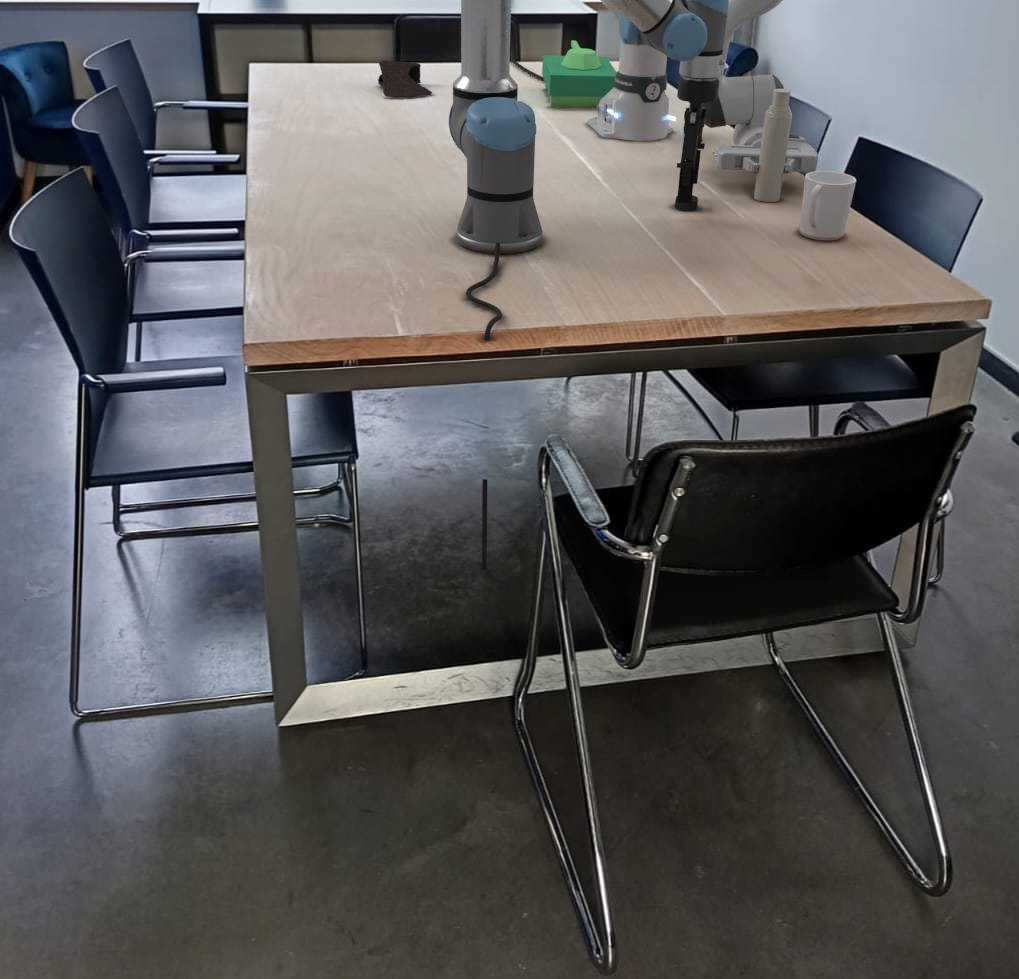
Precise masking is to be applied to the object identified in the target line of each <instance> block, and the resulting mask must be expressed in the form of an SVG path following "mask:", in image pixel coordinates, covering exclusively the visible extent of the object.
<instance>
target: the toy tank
mask: <svg viewBox="0 0 1019 979" xmlns="http://www.w3.org/2000/svg"><path fill="white" fill-rule="evenodd" d="M570 46H571V48H570V49H569V50H567V52H566V55H549V54H547V55H545V54H543V55H542V65H541V66H542V67H541V76H542V77H543V79H544V81H543V82H544V88H545V91H547V93H548V96H549V107H550V108H597V105H599V102H600V100H601V99H602V98H603V97H604V96H605V95H606V94H607V93H608V92H610V91H611V90H612V89H613V88H614V86H613V85H614V81H615V77H614V76H616V73H614V72H617V71H616V70H615V68H614V67H613V64H612V63H611V62H610V60H609V58H608V57H607V56H603V55H601V56H599V55H598V54H597V51H596V50H593V49H591V48H582V47H581V46H580V44H579V43H578V41H577V40H571V41H570Z"/></svg>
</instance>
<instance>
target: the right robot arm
mask: <svg viewBox="0 0 1019 979" xmlns="http://www.w3.org/2000/svg"><path fill="white" fill-rule="evenodd" d="M728 1H729V3H728V17H727V22H726V30H725V37H724V45H723V54H722V58H721V60H725V64H724V65H720V66H721V71H720V76H719V77H718V78H717V79H718V80H719V91H718V98H717V100H716V101H714V102H711V103H705V109H707V115H706V119H705V124H704V126H705V127H708V128H710V129H713V128H714V129H715V128H721V127H727V126H735V127H734V129H733V133H732V139H733V140H732V141H733V143H723V144H720V145H718V148H714V149H713V150H712V155H713V157H715V158H716V163H715V164H716V168H717V169H718V170H723V171H748V172H750V173H752V174H755V175H757V173H758V171H759V169H758V168H759V163H758V162H759V155H760V148H761V140H762V133H763V126H764V119H765V113H766V111H767V110H768V108H769V107H770V105H771V104H772V101H773V93H774V92H773V91H774V89H785V87H784V85H783V83H782V81H781V80H780V79H779V78H778V77H777V76H776V75H774V74H753V75H752V74H751V75H744V76H743V75H742V76H725V75H724V72H725V67H726V63H727V57H728V52H729V47H730V43H731V39H732V37H733V35H734V34H735V32H736V31H737V30H738V29H739V28H740V27H741V26H743V25H744V24H746V23H747V22H751V21H752V20H753V19H756V18H758V17H760V16H763V15H765V14H767V13H769V12H771V11H772V10H773V9H776V7H778V6H779V5H780V4H781V3H782V2H783V1H784V0H728ZM600 2H601V3H602V5H603V6H604V7H606V8H607V10H609V12H610V13H611V14H612V16H613V18H614V21H615V23H616V26H617V30H618V31H619V14H620V10H619V9H618V8H617V7H616V6H615V5H614V4H613V3H612V2H611V1H609V0H600ZM618 35H619V56H618V57H619V58H618V59H619V60H618V70H617V71H616V72H614V73H616V76H614V77H615V81H614V85H613V86H614V88H613V89H612V90H611V91H610V92H608V93H607V94H606V95H605V96H604V97H603V98H602V99H601V100H600V102H599V105H597V107H596V113H597V117H592V118H588V119H587V125H588V126H590V127H591V129H593V130H594V131H595V132H596V133H597V134H598V135H599V136H600V137H601V138H607V139H619V140H625V141H636V142H637V141H638V142H643V141H644V142H645V141H647V142H649V141H658V140H661V139H664V138H667V136H668V134H671V133H672V132H673V127H672V126H669V123H670V121H673V122H676V121H677V117H675V116H673V115H670V98H669V95H667V94H666V91H667V85H668V73H667V72H666V71H667V62H668V56H667V55H665V54H663V53H662V52H660V51H658V50H656V49H654V48H652V47H650V46H648V45H639V46H636V45H627V44H624V43H623V42H622V40H621V38H620V34H619V33H618ZM510 62H512V63H513V64H514V65H515V66H516V67H518V69H521V70H522V71H523V72H524V73H527V74H529V75H531V76H532V77H534V78H536V79H538V80H541V81H542V82H545V81H544V79H543V76H542V75H539V74H537V73H535V72H534V71H532V70H530V69H527V68H526V67H524V66H523V65H521V64H520V63H519V62H518V61H516V60H515V58H513V57H512V56H511V55H510ZM669 120H670V121H669ZM818 161H819V154H818V152H817V150H816V149H815V148H814V147H813V146H812V145H810V144H809V143H807V142H806V138H805V137H803V136H799V135H793V134H789V141H788V147H787V154H786V161H785V167H784V174H787V175H789V174H790V175H791V174H792V173H810V172H815V171H817V168H818V167H817V166H818Z"/></svg>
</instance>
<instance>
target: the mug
mask: <svg viewBox="0 0 1019 979" xmlns="http://www.w3.org/2000/svg"><path fill="white" fill-rule="evenodd" d="M856 183H857V178H856V177H855V176H853V175H851V174H848V173H844V172H840V171H832V170H815V171H814V172H806V174H805V177H804V184H803V194H802V203H801V212H800V219H799V228H798V232H799V234H800V235H802V236H803V237H805V238H809V239H812V240H817V241H836V240H840V239H842V238H843V237H844V236H845V230H846V227H847V221H848V217H849V215H850V214H849V213H850V209H851V205H852V201H853V196H854V193H855V189H856Z"/></svg>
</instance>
